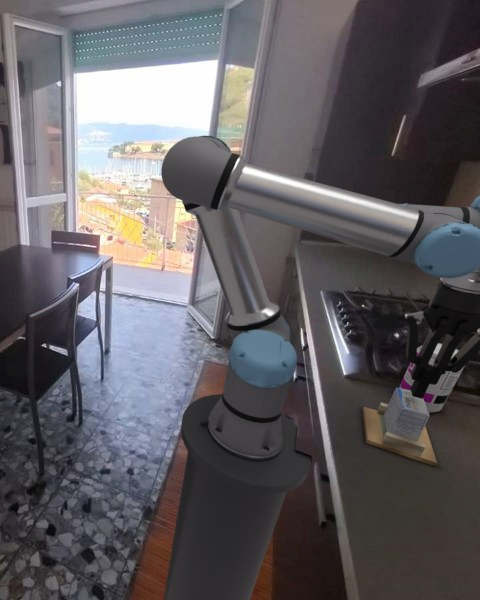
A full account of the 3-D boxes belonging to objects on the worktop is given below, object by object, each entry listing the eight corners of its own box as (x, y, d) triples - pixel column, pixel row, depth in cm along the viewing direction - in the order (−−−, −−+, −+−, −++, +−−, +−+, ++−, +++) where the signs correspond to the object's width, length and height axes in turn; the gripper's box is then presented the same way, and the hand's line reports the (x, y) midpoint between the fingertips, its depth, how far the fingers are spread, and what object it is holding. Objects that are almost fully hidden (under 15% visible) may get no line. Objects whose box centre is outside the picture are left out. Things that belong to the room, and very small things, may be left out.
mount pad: (366, 443, 75) (371, 430, 74) (362, 409, 84) (367, 398, 83) (435, 466, 70) (442, 453, 68) (423, 427, 79) (429, 415, 77)
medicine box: (414, 448, 72) (431, 415, 69) (386, 439, 75) (402, 407, 71) (407, 424, 78) (422, 393, 75) (381, 416, 81) (395, 386, 77)
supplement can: (405, 410, 84) (430, 357, 78) (390, 388, 91) (412, 338, 85) (447, 417, 82) (478, 363, 75) (429, 395, 89) (455, 344, 82)
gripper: (422, 286, 63) (377, 393, 73) (531, 302, 56) (465, 417, 66) (415, 273, 69) (374, 374, 78) (512, 287, 62) (454, 394, 72)
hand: (416, 393), depth 72 cm, fingers closed
